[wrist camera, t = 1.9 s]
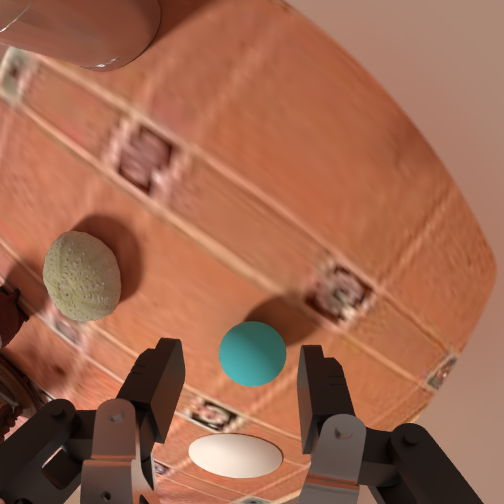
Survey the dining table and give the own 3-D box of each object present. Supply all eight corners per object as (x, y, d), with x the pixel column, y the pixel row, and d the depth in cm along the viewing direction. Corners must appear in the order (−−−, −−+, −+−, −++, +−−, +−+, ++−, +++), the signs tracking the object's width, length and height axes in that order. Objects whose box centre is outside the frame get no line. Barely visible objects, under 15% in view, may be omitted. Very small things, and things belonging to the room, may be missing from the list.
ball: (222, 307, 28) (212, 346, 22) (286, 309, 28) (290, 349, 22) (224, 356, 30) (216, 397, 24) (282, 359, 30) (284, 400, 24)
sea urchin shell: (131, 247, 24) (90, 331, 21) (139, 275, 31) (110, 340, 28) (53, 209, 24) (13, 282, 20) (74, 243, 31) (44, 302, 27)
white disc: (182, 428, 35) (182, 429, 35) (286, 435, 34) (286, 436, 34) (195, 472, 39) (194, 473, 39) (278, 478, 39) (278, 479, 39)
